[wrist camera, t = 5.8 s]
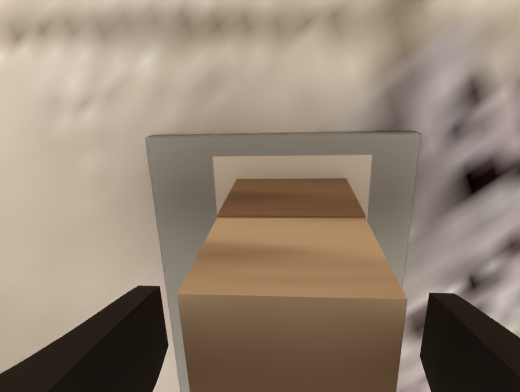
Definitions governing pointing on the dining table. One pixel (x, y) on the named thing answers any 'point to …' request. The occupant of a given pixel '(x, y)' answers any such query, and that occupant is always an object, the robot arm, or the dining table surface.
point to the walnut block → (291, 199)
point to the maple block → (291, 308)
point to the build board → (273, 167)
